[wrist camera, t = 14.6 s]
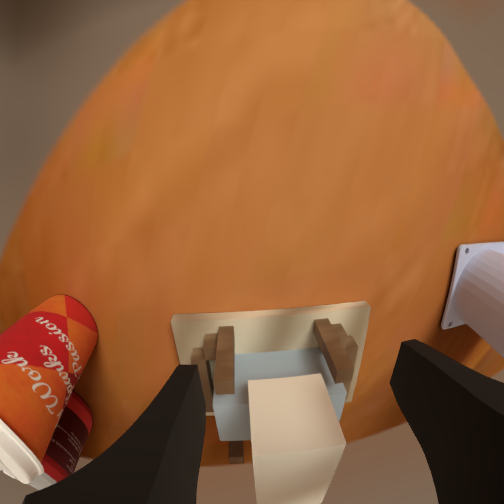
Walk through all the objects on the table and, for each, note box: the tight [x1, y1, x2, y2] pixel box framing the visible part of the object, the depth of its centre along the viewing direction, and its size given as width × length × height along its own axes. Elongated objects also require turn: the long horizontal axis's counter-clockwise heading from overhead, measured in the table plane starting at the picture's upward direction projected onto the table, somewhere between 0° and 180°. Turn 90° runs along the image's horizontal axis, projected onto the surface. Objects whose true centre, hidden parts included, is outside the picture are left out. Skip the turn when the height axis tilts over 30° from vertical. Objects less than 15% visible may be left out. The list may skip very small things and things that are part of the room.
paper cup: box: [0, 294, 98, 484], centre depth 13 cm, size 8×8×14 cm
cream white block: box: [248, 373, 346, 504], centre depth 13 cm, size 8×4×5 cm, turn 2°
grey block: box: [213, 347, 347, 441], centre depth 18 cm, size 8×4×5 cm, turn 92°
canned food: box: [28, 391, 93, 490], centre depth 17 cm, size 8×8×11 cm
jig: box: [171, 301, 371, 464], centre depth 18 cm, size 14×10×6 cm
